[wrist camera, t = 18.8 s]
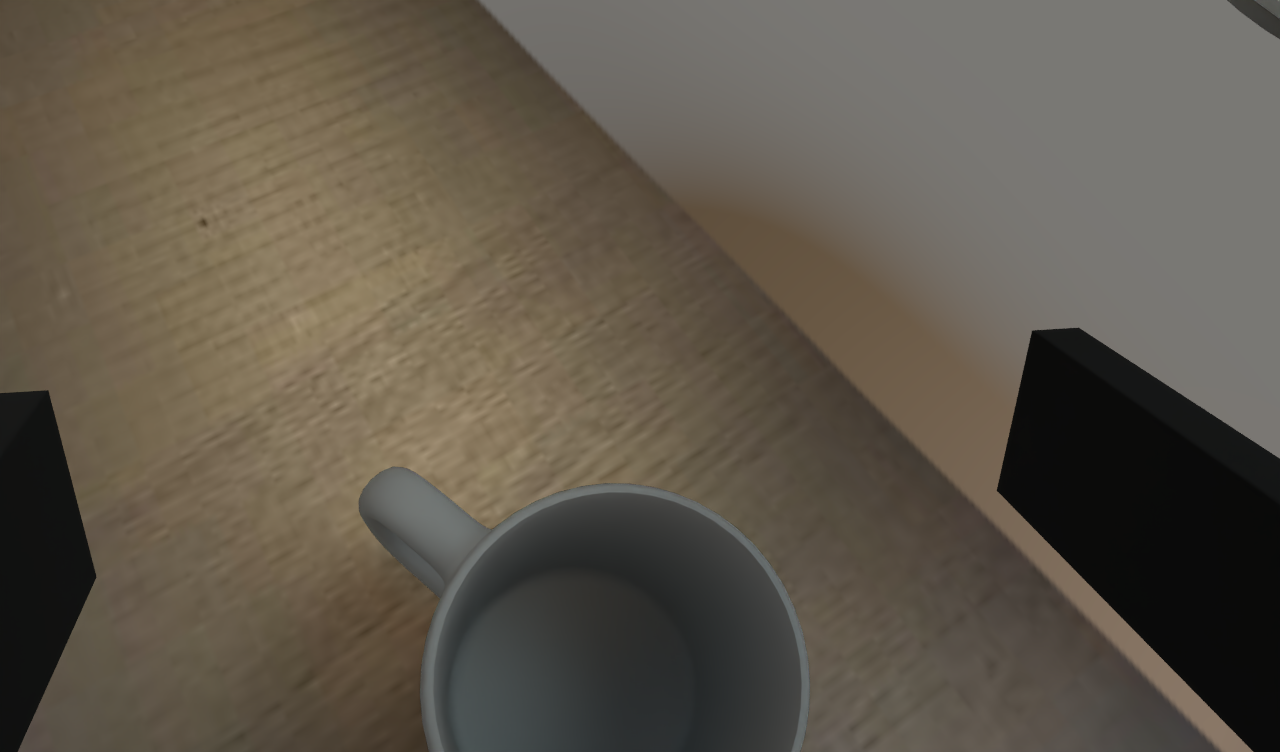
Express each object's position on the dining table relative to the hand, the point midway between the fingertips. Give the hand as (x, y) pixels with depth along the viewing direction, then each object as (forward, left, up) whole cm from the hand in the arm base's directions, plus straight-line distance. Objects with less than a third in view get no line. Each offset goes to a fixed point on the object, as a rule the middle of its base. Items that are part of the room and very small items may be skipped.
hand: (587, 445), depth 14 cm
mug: (0, +2, -20) cm, 20 cm away
